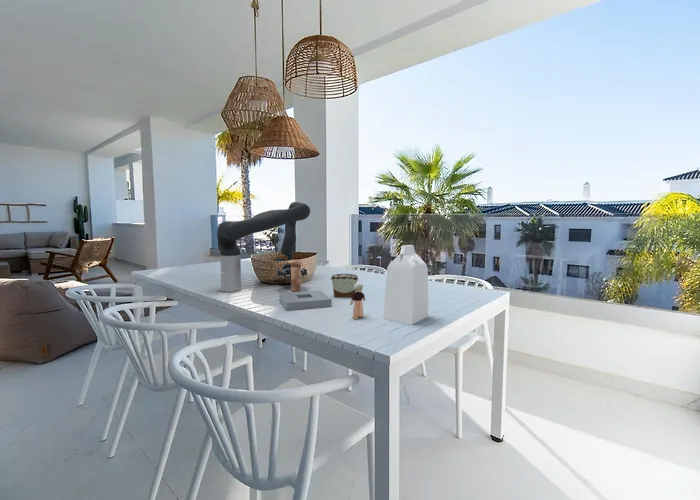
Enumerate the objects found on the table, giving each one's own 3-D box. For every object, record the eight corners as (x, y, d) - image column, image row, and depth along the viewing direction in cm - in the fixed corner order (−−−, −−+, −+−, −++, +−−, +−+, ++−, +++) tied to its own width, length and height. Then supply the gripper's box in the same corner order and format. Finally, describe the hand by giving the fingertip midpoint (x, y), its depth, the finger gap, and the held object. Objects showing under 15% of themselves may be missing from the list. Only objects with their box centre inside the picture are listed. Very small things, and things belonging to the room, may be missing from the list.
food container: (359, 295, 161) (359, 273, 160) (358, 298, 155) (358, 276, 154) (332, 294, 162) (332, 273, 161) (330, 297, 156) (330, 275, 155)
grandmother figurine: (357, 320, 122) (357, 284, 121) (348, 318, 124) (348, 283, 123) (368, 315, 129) (368, 281, 128) (359, 313, 131) (359, 280, 130)
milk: (401, 311, 135) (402, 243, 132) (428, 316, 127) (430, 245, 125) (383, 318, 125) (384, 245, 123) (411, 324, 118) (413, 247, 116)
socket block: (286, 310, 135) (286, 302, 134) (279, 299, 152) (279, 293, 151) (331, 306, 141) (331, 299, 141) (319, 296, 158) (319, 290, 157)
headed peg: (291, 295, 160) (290, 261, 158) (289, 293, 165) (288, 260, 163) (303, 294, 161) (303, 261, 160) (300, 292, 167) (300, 259, 165)
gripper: (274, 262, 178) (279, 267, 163) (302, 261, 183) (309, 265, 167) (274, 277, 179) (279, 283, 163) (302, 275, 183) (309, 281, 168)
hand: (294, 274), depth 165 cm, fingers open, 8 cm apart
